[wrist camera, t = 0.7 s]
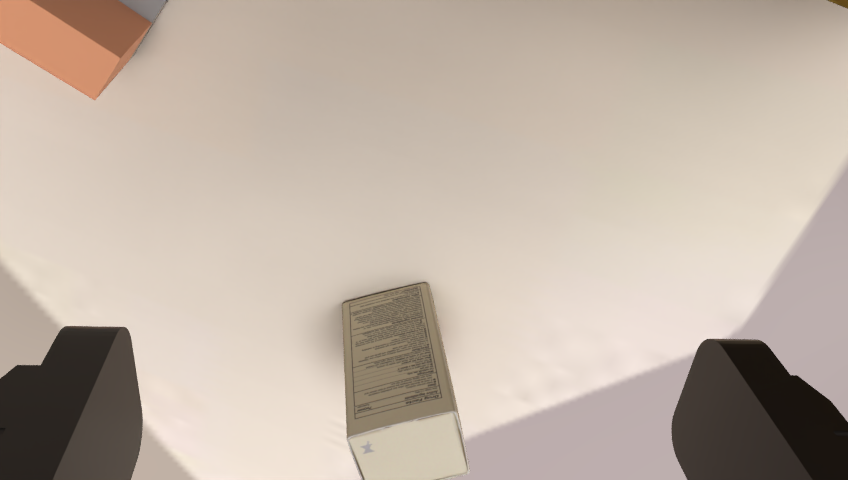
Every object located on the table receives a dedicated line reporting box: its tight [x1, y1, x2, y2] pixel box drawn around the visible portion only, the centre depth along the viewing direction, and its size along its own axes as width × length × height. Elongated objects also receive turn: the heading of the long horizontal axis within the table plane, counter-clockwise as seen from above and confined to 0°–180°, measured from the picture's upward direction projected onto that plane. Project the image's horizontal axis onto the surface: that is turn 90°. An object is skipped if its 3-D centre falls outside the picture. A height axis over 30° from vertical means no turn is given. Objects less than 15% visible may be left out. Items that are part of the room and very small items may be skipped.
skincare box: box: [342, 283, 470, 480], centre depth 36 cm, size 5×4×10 cm
